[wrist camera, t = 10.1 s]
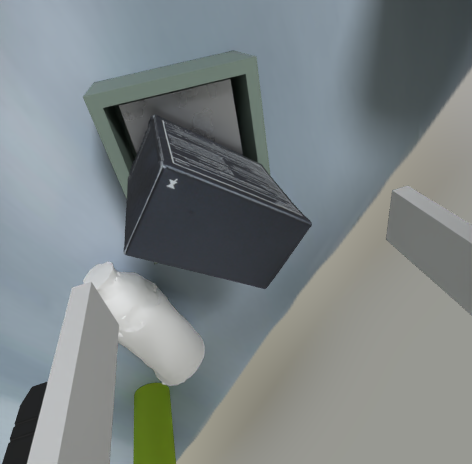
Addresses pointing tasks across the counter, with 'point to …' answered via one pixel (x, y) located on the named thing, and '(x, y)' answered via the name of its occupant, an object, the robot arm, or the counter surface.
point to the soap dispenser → (153, 425)
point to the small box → (207, 208)
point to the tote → (171, 79)
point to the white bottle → (149, 324)
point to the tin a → (189, 113)
